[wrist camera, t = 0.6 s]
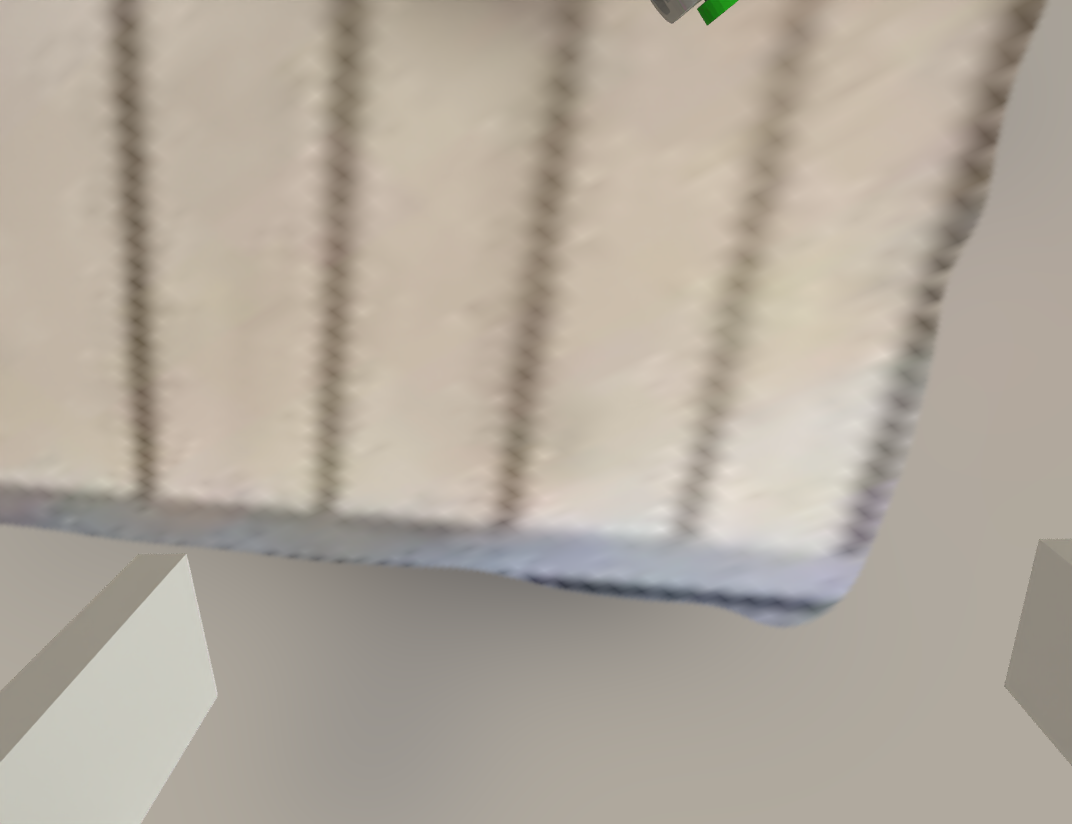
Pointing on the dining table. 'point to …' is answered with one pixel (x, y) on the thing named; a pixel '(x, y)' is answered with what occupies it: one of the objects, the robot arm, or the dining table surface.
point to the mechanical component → (675, 3)
